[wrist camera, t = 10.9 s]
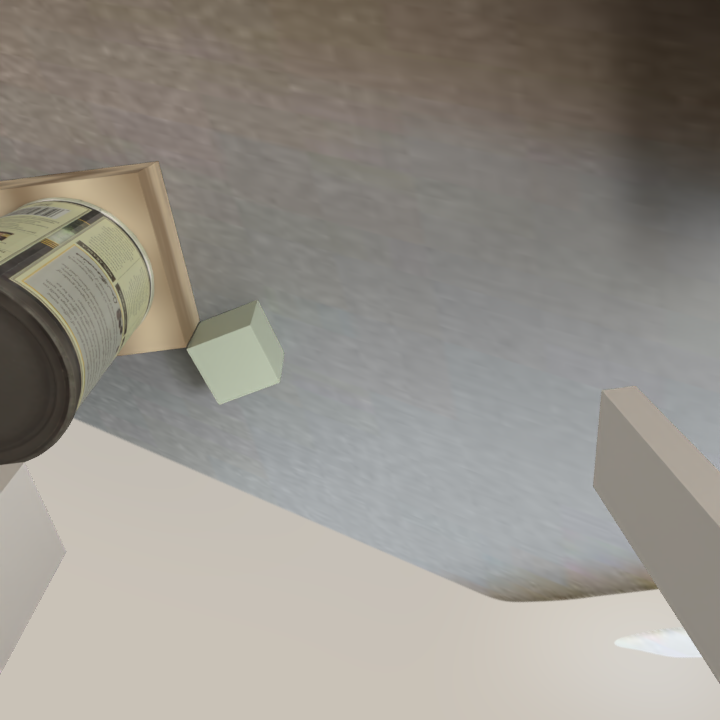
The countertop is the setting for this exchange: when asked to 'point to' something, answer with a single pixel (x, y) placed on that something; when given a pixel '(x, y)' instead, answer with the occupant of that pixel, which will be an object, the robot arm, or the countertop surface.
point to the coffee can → (62, 314)
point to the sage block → (237, 352)
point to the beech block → (150, 225)
